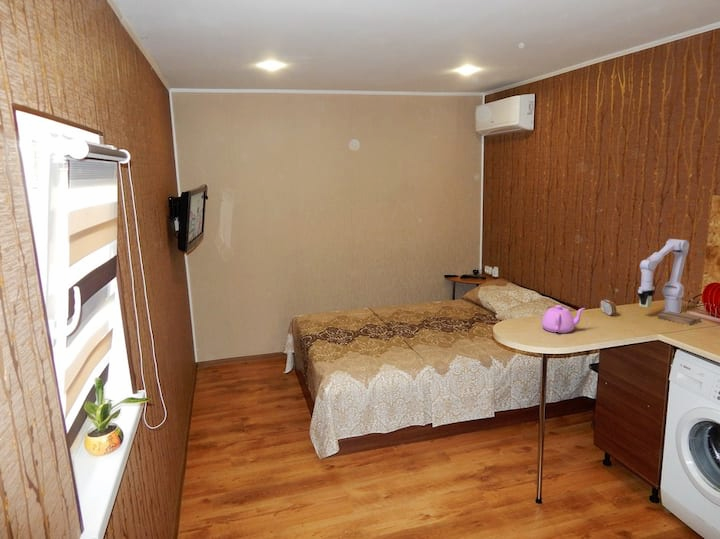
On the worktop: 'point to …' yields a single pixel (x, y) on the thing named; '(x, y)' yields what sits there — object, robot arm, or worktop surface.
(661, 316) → the walnut slab
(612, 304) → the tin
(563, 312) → the teapot
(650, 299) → the sage block
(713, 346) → the worktop surface
